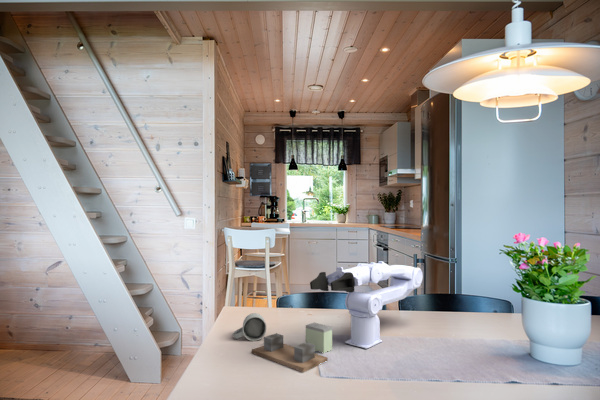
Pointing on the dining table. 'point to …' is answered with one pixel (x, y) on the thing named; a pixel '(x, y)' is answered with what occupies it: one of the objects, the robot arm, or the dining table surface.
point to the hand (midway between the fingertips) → (321, 286)
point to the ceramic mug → (252, 328)
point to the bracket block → (319, 336)
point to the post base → (289, 353)
